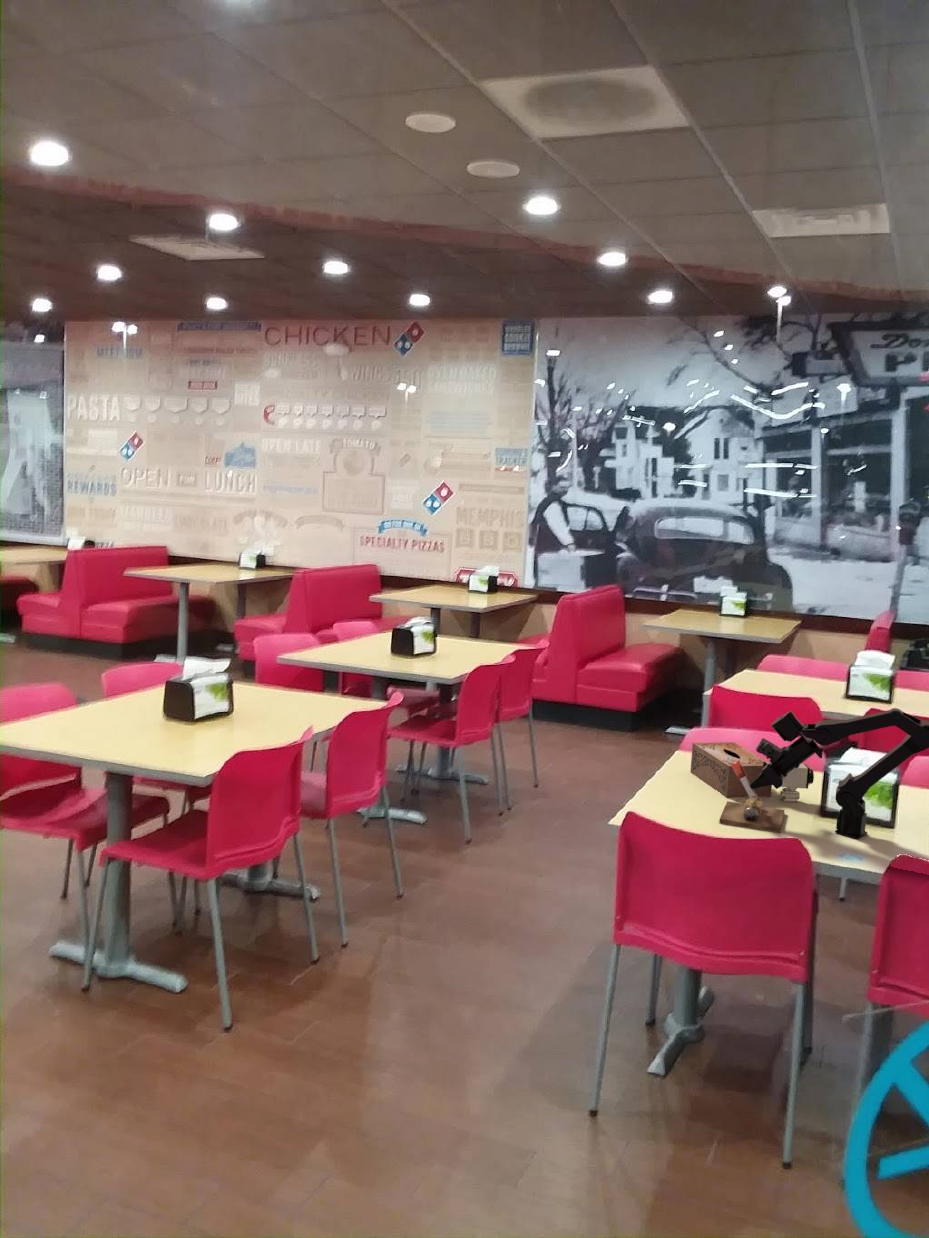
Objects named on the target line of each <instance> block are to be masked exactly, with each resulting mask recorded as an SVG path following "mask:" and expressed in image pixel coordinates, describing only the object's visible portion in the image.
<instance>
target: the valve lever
mask: <svg viewBox="0 0 929 1238" xmlns="http://www.w3.org/2000/svg"><path fill="white" fill-rule="evenodd" d="M731 766H732V768H733V769H734V771H735V773H736V775H737V777H738V779H740V780H741V782H742V784H743V786H744V788H745V790H746V792H747V793H748V795H749V797H748V798H750V800H751V797H754V798H756V801H757V799H758V797H757V795H756V794H755V792H754V790H753V789H752V788H751V787H750V785H751V784H750V782H749V781H748V779H747V777H746V775H747V774H746V772H745V770H744V768H743V766H742V764H741V763H740V761H739V760H738V761H735V762H733V763H732V764H731Z"/></svg>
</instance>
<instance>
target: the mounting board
mask: <svg viewBox="0 0 929 1238" xmlns="http://www.w3.org/2000/svg"><path fill="white" fill-rule="evenodd" d="M744 805H745V803H741V802H734V801H726V803H725V805H724V808H723V810H722V812H721V815H720V817H719V821H718V823H719V824H722V825H729V826H737V827H743V828H749V829H755V830H760V829H761V831H769V832H772V833H773V832H774V833H780V832H781V829H782V825H783V820H784V815H785V809H781V808H773V807H768V806H763V805H762V813H761V816H760V818H758V819H757V821H749V820H745V819H744V816H743V814H744Z"/></svg>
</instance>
